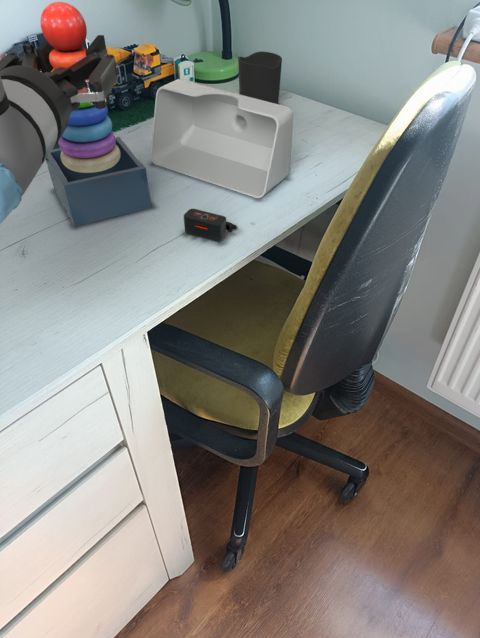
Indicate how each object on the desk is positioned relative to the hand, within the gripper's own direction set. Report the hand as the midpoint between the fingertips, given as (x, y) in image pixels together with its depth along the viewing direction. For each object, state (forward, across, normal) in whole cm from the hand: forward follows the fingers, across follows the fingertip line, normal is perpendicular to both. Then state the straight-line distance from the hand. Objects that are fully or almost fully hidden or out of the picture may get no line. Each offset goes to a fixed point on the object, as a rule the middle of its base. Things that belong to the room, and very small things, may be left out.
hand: (80, 46), depth 66 cm
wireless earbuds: (-4, +16, -25) cm, 30 cm away
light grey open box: (+19, +17, -25) cm, 36 cm away
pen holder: (+48, +23, -25) cm, 59 cm away
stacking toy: (-5, 0, -13) cm, 14 cm away
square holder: (+5, -3, -25) cm, 25 cm away
